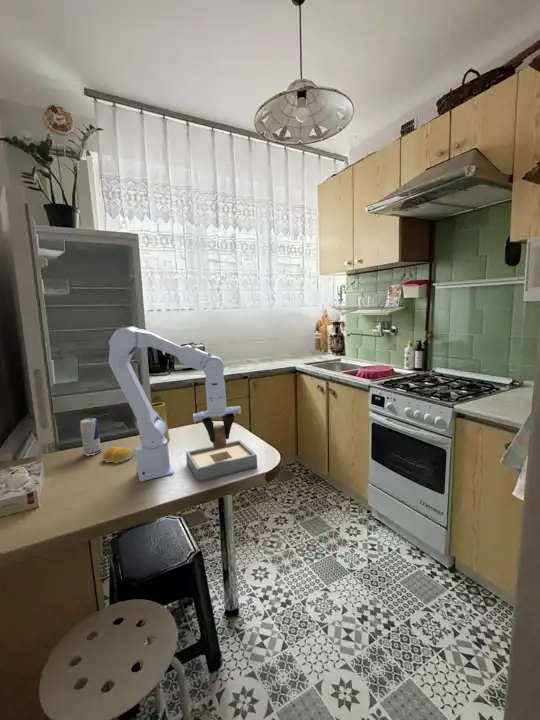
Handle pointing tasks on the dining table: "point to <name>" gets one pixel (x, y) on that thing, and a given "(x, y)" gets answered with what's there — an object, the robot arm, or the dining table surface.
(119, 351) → the robot arm
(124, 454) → the bread roll
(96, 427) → the energy drink
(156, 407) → the vase
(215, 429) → the walnut peg
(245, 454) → the socket box
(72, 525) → the dining table surface
